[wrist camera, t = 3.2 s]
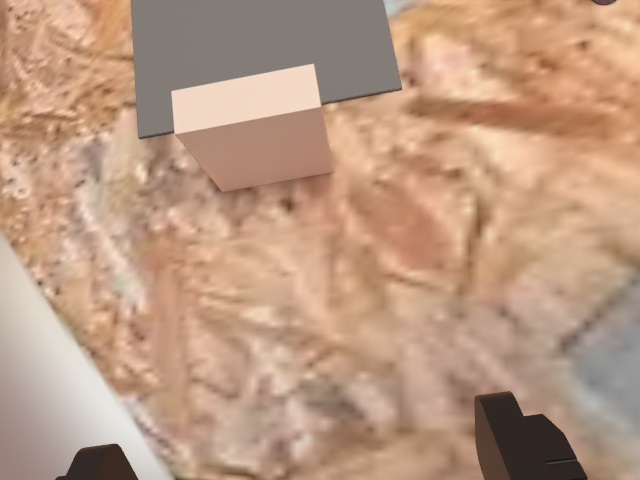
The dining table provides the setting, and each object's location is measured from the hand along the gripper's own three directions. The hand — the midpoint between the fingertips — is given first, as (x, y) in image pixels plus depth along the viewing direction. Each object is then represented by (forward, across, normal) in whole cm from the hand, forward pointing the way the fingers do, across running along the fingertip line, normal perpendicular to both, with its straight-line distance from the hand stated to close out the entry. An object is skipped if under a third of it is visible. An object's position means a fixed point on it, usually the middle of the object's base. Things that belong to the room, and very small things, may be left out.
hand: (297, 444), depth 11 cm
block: (+30, +3, +4) cm, 31 cm away
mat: (+39, +3, -4) cm, 40 cm away
